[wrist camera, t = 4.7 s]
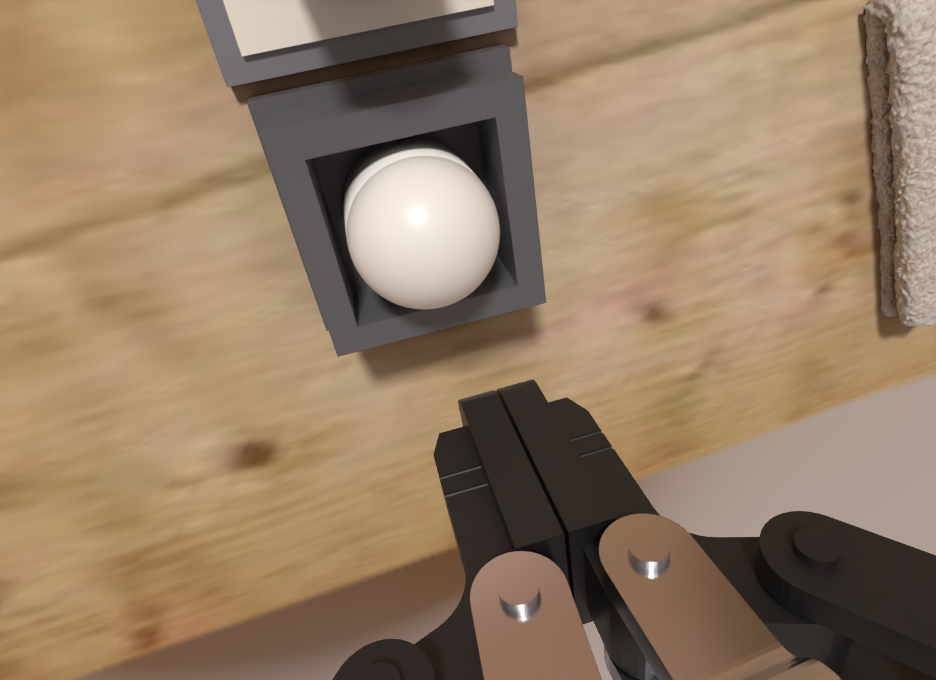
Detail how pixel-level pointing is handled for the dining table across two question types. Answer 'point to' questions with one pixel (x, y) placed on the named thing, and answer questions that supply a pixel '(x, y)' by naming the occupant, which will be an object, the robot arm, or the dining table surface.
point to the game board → (336, 31)
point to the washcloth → (904, 152)
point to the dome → (419, 223)
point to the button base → (389, 118)
